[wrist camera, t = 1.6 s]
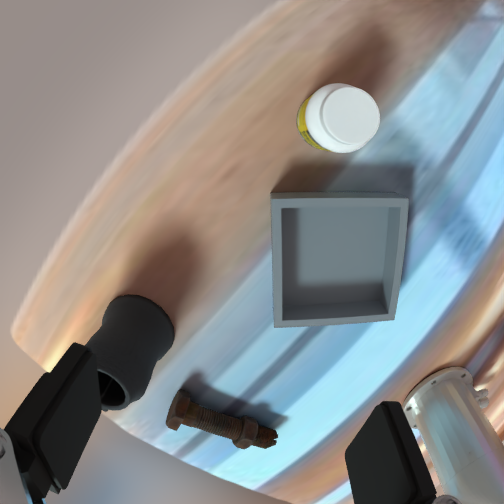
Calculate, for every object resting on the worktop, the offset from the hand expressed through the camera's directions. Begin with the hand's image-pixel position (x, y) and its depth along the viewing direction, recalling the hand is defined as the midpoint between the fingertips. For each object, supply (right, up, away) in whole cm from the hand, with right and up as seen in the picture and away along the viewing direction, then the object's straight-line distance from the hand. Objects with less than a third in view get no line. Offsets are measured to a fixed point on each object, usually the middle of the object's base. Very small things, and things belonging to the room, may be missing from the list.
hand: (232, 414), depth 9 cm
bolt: (-3, -17, +32) cm, 36 cm away
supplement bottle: (+7, +17, +19) cm, 27 cm away
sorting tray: (+9, +5, +23) cm, 25 cm away
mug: (-14, -5, +27) cm, 31 cm away
